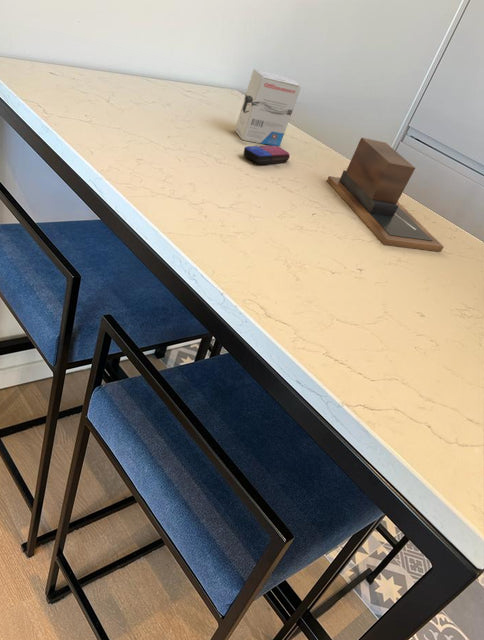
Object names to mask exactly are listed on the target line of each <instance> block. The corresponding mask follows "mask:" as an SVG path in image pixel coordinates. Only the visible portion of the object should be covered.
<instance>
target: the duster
mask: <svg viewBox="0 0 484 640" xmlns="http://www.w3.org/2000/svg"><path fill="white" fill-rule="evenodd" d="M415 170H416V167H415V166H414V165H412V164H411V162H409V161H408V160H407V159H405V158H404V157H403V156H402V155H401V154H400V153H398V151H396V150H395V149H394V148H393V147H392V146H391V145H389V144H388V143H387V142H384V141H379V140H376V139H370V138H366V137H361V138H360V139H359V141H358V144H357V146H356V148H355V151H354V153H353V155H352V157H351V159H350V161H349V163H348V166H347V168H346V170H345V169H343V171H342V173H341V176H340V177H339V178H340V181H341V182H342V183H343V185H344V186H345V187H346V188H347V189H348V190H349V191H350V192H351V193H352V194H353V195H354V196H355V197H356V198H357V199H358V201H359V202H360V203H361V204H362V205H363V206H364V207H365V208H366V209H367V210H368V211H369V212H370V213H373V214H380V215H387V216H394V214H395V212H396V210H397V208H398V207H399V206H398V205H397V204H396V203H397V202H398V203H399V200H400V198H401V196H402V194H403V192H404V191H405V189H406V187H407V185H408V183H409V181H410V179H411V178H412V175H413V174H414V172H415Z"/></svg>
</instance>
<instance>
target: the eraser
mask: <svg viewBox="0 0 484 640" xmlns="http://www.w3.org/2000/svg"><path fill="white" fill-rule="evenodd" d="M243 157H245V158H247V159H249V160H251V161H252V162H254V163H256V164H258V165H269V164H270V165H271V164H280V163H281V164H282V163H287V162H288V161H289V160H290V157H291V155H290V153H289V151H287V150H285V149H283V148H281V147H280V146H274V145H253V146H252V145H250V146H249V145H248V146H245V147H244V149H243Z"/></svg>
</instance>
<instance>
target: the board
mask: <svg viewBox="0 0 484 640" xmlns="http://www.w3.org/2000/svg"><path fill="white" fill-rule="evenodd" d="M340 178H341V177H337V176H332V175H328V177H327V179H326V181H327V183H328V184H329V185H330V186H331V187H332V189H334V191H335V192H336V193H337V194H338V195H339V196H340V197H341V199H343V200H344V202H345V203H346V204H347V206H349V207H350V209H352V211H353V212H354V213H355V214H356V215H357V216H358V217H359V219H360V220H361V221H362V222H363V223H364V224H365V225H366V227H368V229H369V230H370V231H371V232H372V233H373V234H374V235H375V236H376V237H377V238H378V240H379V241H380V242H381V243H382V244H383V245H384V246H390V247H399V248H407V249H414V250H415V249H416V250H423V251H431V252H439V253H441V252H443V249H444V248H445V247H444V245H443V244H442V243H441V242H439V241H438V239H437V238H436V237H435V236H433V234H431V232H430V231H428V230H427V229H426V228H425V227H424V226H423V225H422V224H421V223H420V221H418V220H417V219H416V218H415V217H414V216H413V215H412V214H411V213H410V212H409V211H408V210H407V209H406V208H405V207H404V206H403V205H402V204H401V203H400V202H399V201H398V202H397V203H396V204H397V205H398V206H399V207H398V208H397V210H396V212H395V214H394V216H387V215H380V214H373V213H370V212H369V211H368V210H367V209H366V208H365V207H364V206H363V205H362V204H361V203H360V202H359V201H358V199H357V198H356V197H355V196H354V195H353V194H352V193H351V192H350V191H349V190H348V189H347V188H346V187H345V186H344V185H343V183H342V182H341V181H340Z"/></svg>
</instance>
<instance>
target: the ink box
mask: <svg viewBox="0 0 484 640" xmlns="http://www.w3.org/2000/svg"><path fill="white" fill-rule="evenodd" d="M301 88H302V86H300V84H299V83H297V82H296V81H295V80H294V79H292V78H290V77H287V76H283V75H279V74H275V73H273V72H272V73H271V72H267V71H265V70H260V69H256V68H254V69H252V73H251V77H250V78H249V83H248V85H247V89H246V92H245V96H244V98H243V102H242V105H241V108H240V112H239V115H238V119H237V121H236V125H235V126H234V127H235V128H234V131H235V133H236V134H237V135H238V137H239V138H240V139H241V140H242V141H244V142H251V143H257V144H260V145H261V144H262V145H266V146H272V145H274V146H278V147H280V146H281V145H282V141H283V138H284V136H285V133H286V131H287V127H288V124H289V122H290V120H291V116H292V114H293V110H294V109H295V105H296V104H297V100H298V97H299V94H300V91H301Z"/></svg>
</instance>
